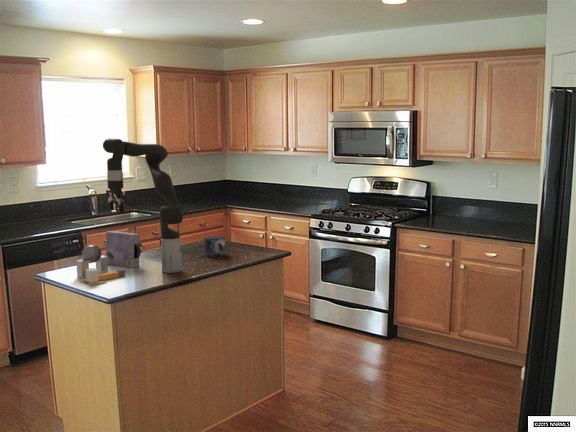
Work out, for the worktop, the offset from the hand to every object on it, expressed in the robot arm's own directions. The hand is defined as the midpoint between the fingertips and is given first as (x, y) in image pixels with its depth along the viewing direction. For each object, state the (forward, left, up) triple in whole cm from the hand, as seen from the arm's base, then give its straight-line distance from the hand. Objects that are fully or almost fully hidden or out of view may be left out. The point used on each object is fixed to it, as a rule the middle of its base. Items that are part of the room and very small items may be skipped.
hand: (116, 211), depth 295 cm
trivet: (-12, +22, -30) cm, 39 cm away
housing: (0, +15, -30) cm, 34 cm away
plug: (-11, +15, -30) cm, 35 cm away
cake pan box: (+5, -6, -30) cm, 31 cm away
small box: (-14, -53, -30) cm, 63 cm away
